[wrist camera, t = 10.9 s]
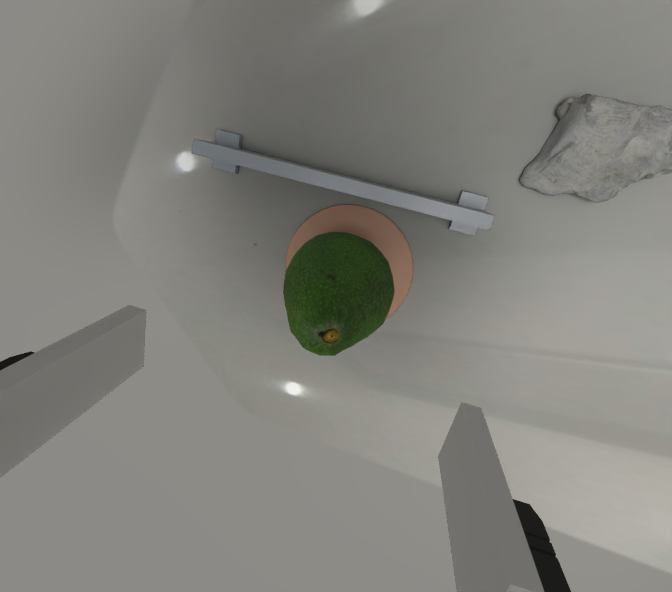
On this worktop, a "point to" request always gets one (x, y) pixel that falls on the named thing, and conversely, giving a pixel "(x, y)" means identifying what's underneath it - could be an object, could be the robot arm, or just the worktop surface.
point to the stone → (602, 148)
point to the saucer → (369, 228)
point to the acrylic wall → (345, 183)
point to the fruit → (337, 292)
